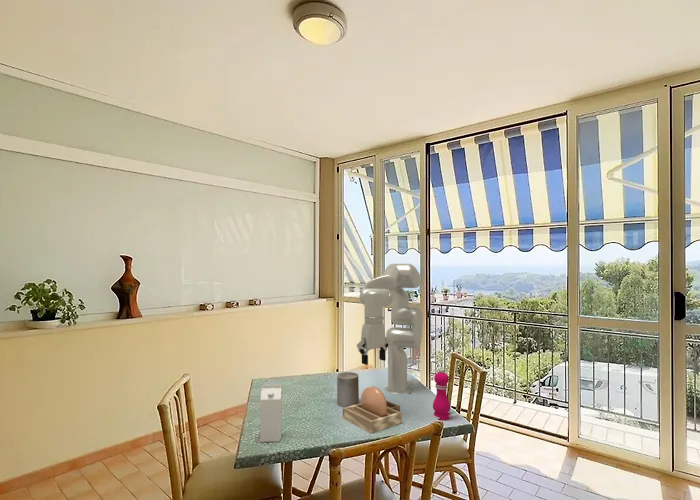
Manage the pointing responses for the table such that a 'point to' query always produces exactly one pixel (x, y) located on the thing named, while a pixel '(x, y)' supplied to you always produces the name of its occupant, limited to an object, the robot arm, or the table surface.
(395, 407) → the narrow wooden tray
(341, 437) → the table surface
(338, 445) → the table surface
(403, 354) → the robot arm
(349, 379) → the pillar candle
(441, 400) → the pepper mill
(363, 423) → the rack
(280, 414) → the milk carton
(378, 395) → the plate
